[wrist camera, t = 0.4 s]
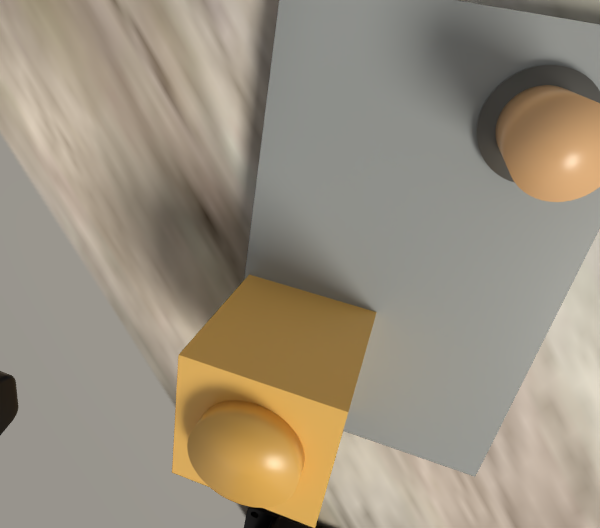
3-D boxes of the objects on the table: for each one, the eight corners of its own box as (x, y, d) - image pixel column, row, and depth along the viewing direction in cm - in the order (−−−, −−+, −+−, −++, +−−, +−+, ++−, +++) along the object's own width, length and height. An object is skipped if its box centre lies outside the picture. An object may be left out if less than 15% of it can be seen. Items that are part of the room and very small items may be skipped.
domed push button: (348, 412, 22) (308, 549, 16) (236, 374, 23) (160, 490, 17) (376, 312, 19) (342, 431, 13) (249, 274, 20) (165, 370, 14)
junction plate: (474, 456, 22) (479, 561, 18) (239, 376, 24) (191, 452, 20) (675, 40, 14) (781, 39, 9) (293, -25, 16) (231, -51, 12)
